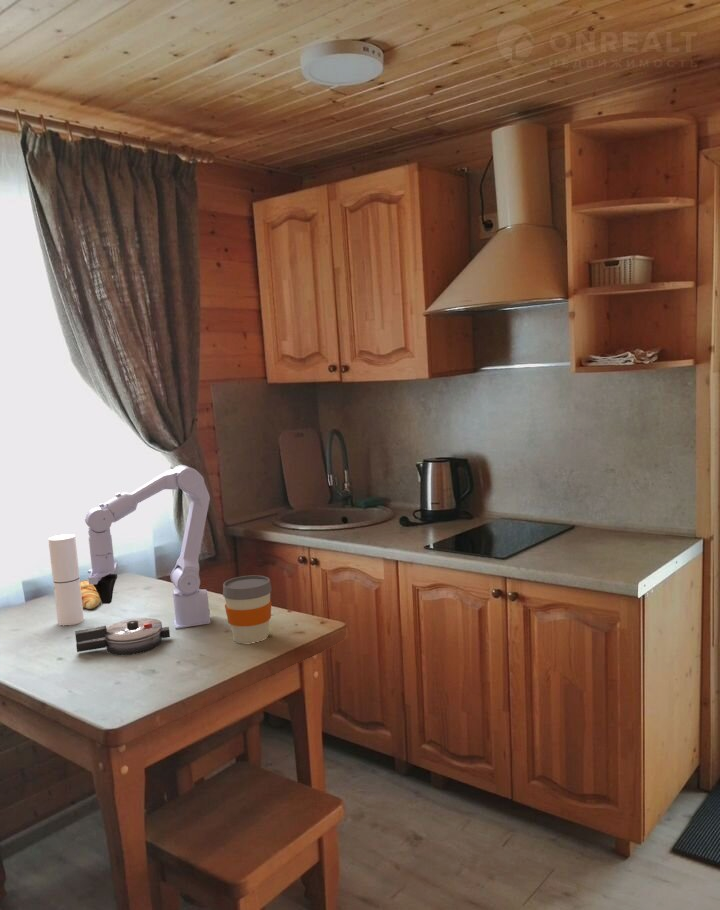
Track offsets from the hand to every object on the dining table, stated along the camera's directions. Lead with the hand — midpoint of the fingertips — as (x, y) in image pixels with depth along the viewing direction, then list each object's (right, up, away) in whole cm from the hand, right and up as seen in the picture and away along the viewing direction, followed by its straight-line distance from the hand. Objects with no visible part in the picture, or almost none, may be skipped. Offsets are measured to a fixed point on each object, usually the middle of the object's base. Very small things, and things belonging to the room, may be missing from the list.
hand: (106, 603), depth 202 cm
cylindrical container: (-16, -9, +18) cm, 26 cm away
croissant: (-19, -7, +36) cm, 41 cm away
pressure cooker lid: (+6, -7, -6) cm, 11 cm away
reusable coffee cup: (+39, -8, -4) cm, 40 cm away
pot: (+6, -10, -5) cm, 13 cm away
